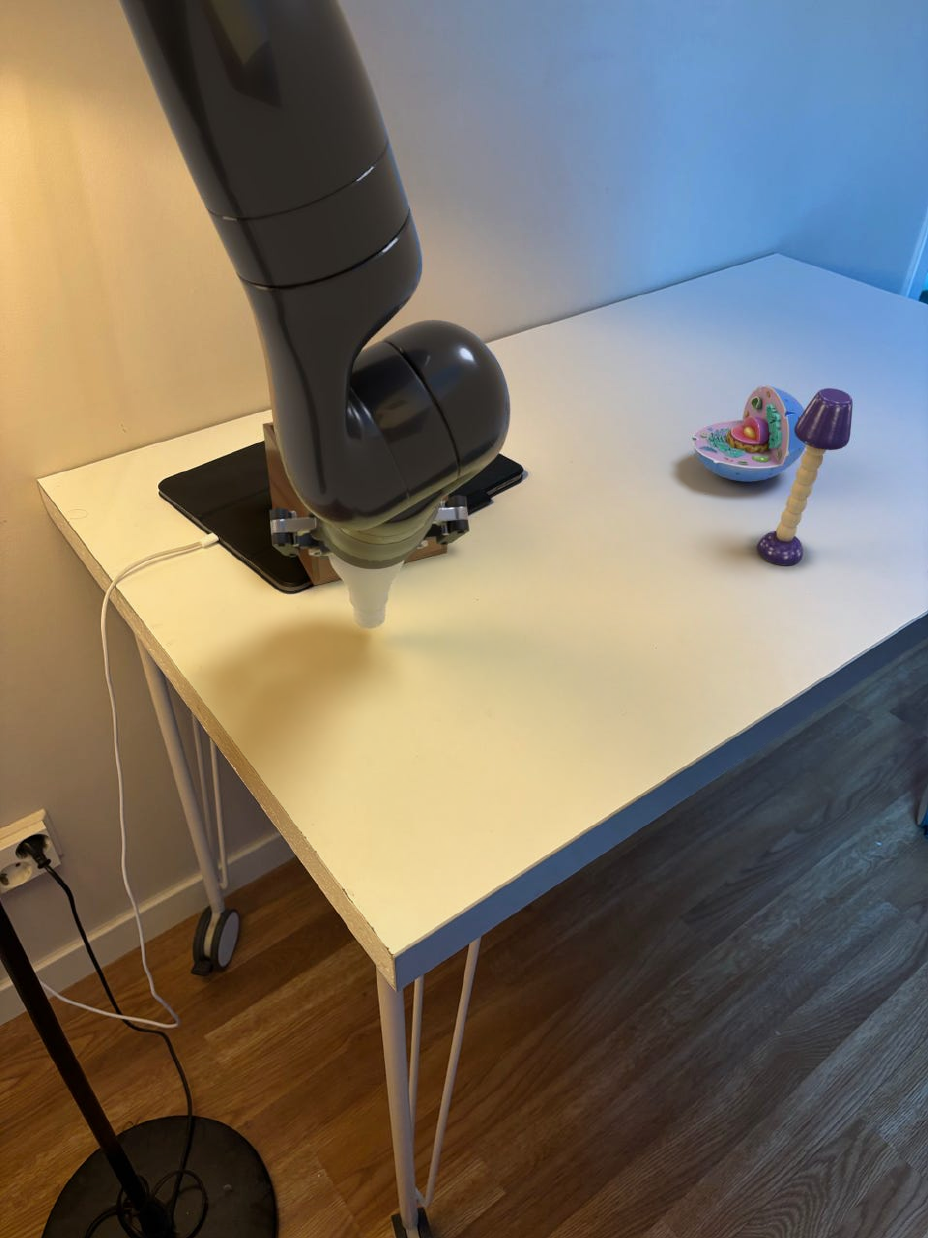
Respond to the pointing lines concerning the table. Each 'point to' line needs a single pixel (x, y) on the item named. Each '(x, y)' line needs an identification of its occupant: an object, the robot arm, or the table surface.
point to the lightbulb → (366, 590)
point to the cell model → (753, 438)
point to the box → (289, 500)
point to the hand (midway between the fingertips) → (365, 543)
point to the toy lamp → (809, 468)
